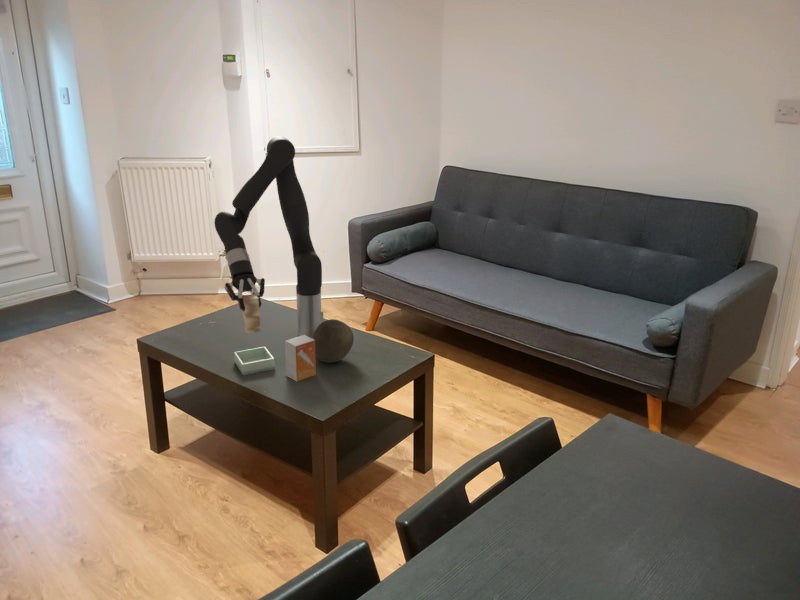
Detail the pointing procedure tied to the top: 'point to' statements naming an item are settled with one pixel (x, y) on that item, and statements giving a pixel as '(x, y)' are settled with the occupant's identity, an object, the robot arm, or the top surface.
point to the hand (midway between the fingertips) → (251, 308)
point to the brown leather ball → (332, 340)
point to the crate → (254, 360)
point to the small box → (300, 357)
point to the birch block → (251, 313)
